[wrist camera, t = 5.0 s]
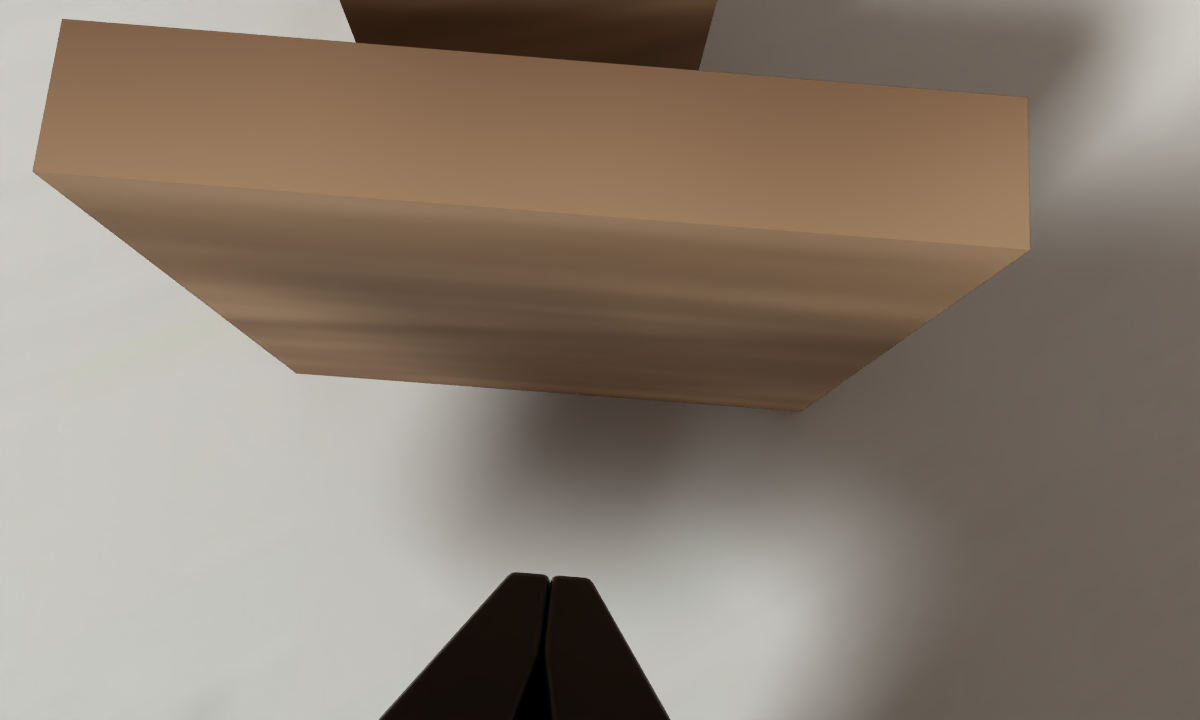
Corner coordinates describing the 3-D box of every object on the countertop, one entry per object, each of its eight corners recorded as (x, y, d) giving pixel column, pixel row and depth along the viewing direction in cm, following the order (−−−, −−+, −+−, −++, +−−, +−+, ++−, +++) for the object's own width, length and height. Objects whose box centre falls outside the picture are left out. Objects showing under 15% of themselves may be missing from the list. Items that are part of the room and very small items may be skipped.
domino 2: (800, 411, 20) (1030, 250, 10) (296, 373, 20) (32, 171, 10) (803, 330, 20) (1027, 97, 10) (307, 292, 20) (62, 19, 10)
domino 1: (672, 169, 21) (768, -194, 11) (423, 215, 20) (293, -118, 11) (654, 96, 21) (733, -321, 11) (409, 140, 21) (270, -251, 11)
